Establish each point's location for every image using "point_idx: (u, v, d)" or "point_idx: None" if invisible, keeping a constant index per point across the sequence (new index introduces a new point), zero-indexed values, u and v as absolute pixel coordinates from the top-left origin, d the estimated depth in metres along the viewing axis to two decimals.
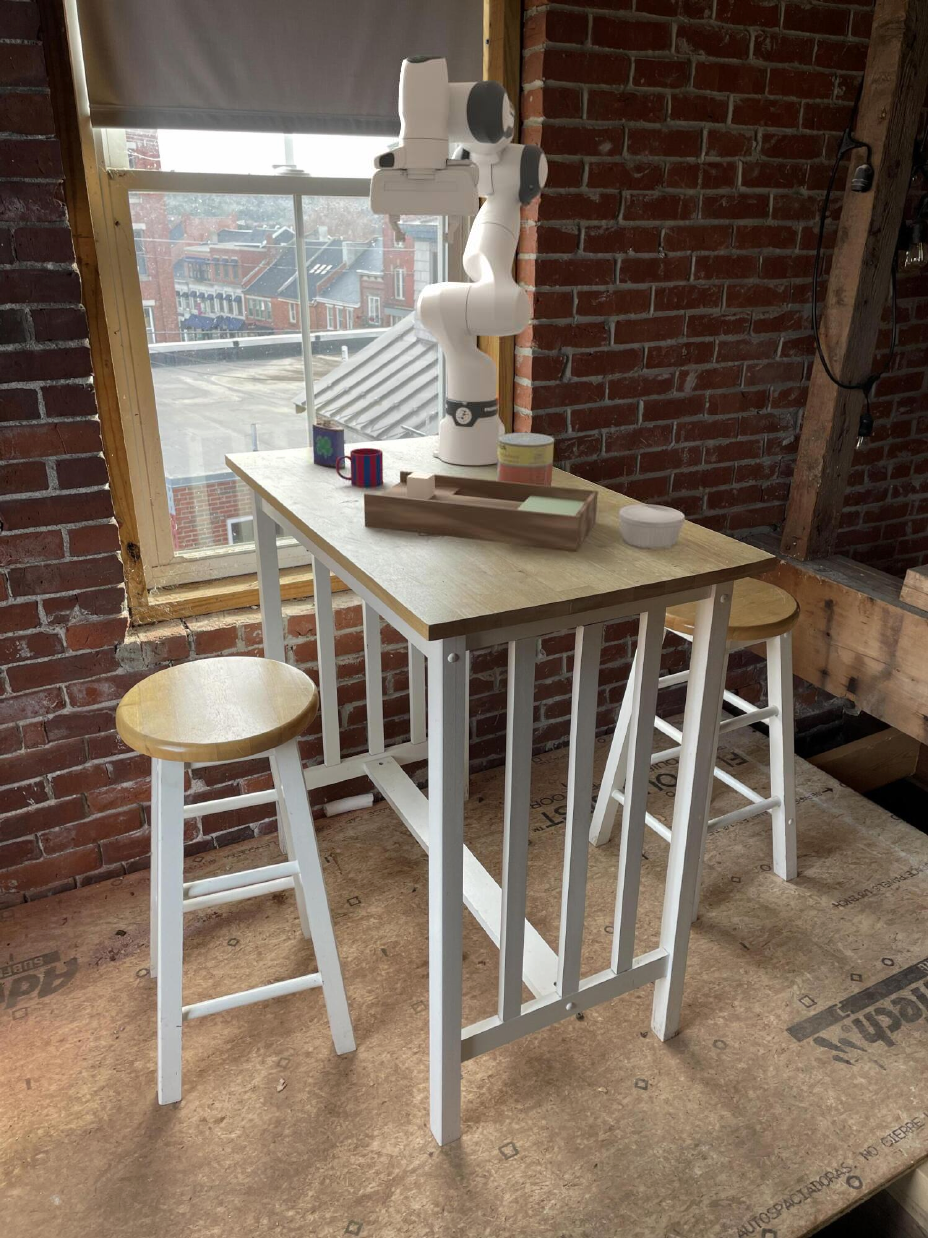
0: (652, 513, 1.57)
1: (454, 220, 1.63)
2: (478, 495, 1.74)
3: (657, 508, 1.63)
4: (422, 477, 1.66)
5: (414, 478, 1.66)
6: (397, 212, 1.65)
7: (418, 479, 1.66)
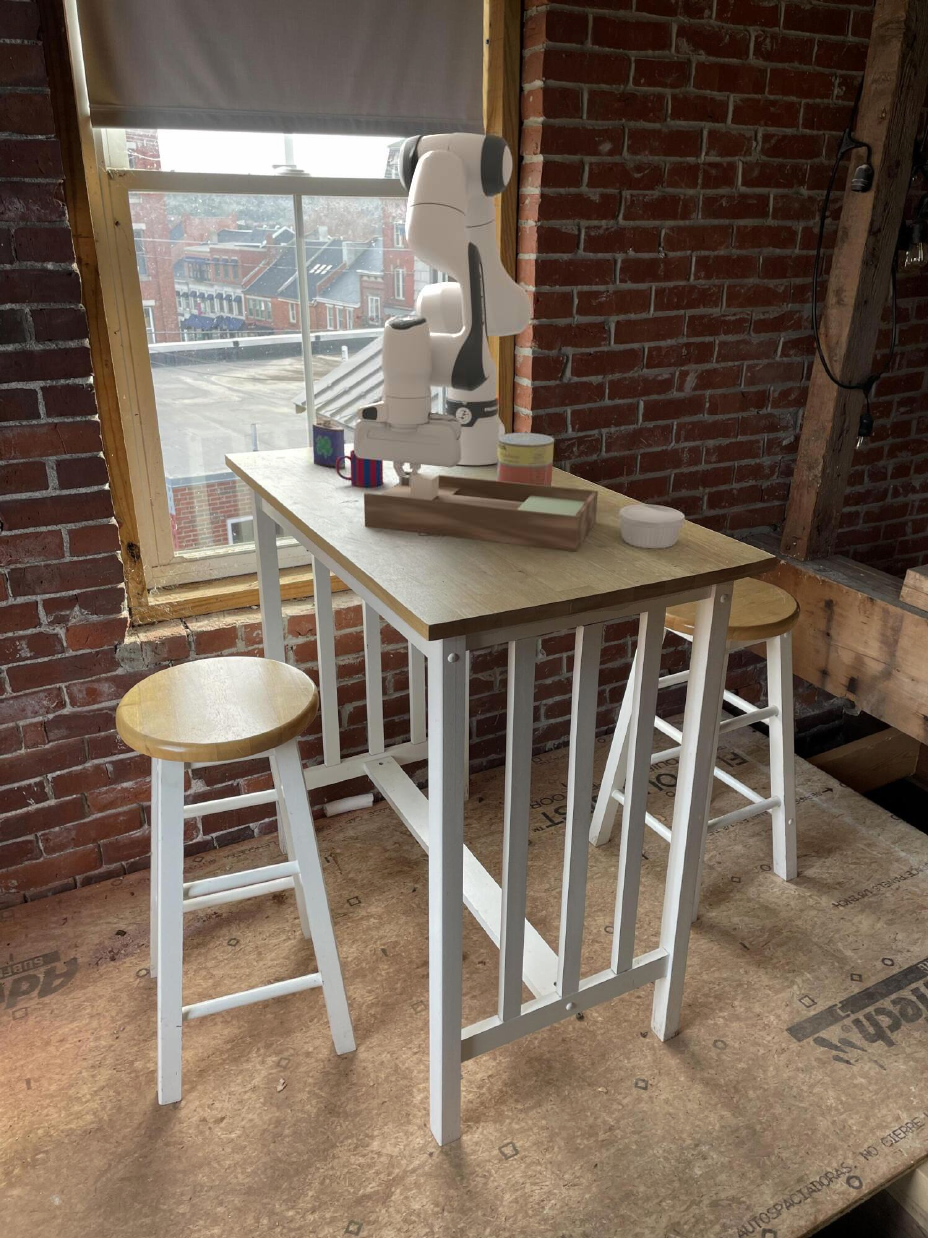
0: (652, 513, 1.57)
1: (415, 467, 1.66)
2: (478, 495, 1.74)
3: (657, 508, 1.63)
4: (426, 477, 1.66)
5: (418, 478, 1.65)
6: (380, 458, 1.67)
7: (422, 479, 1.65)
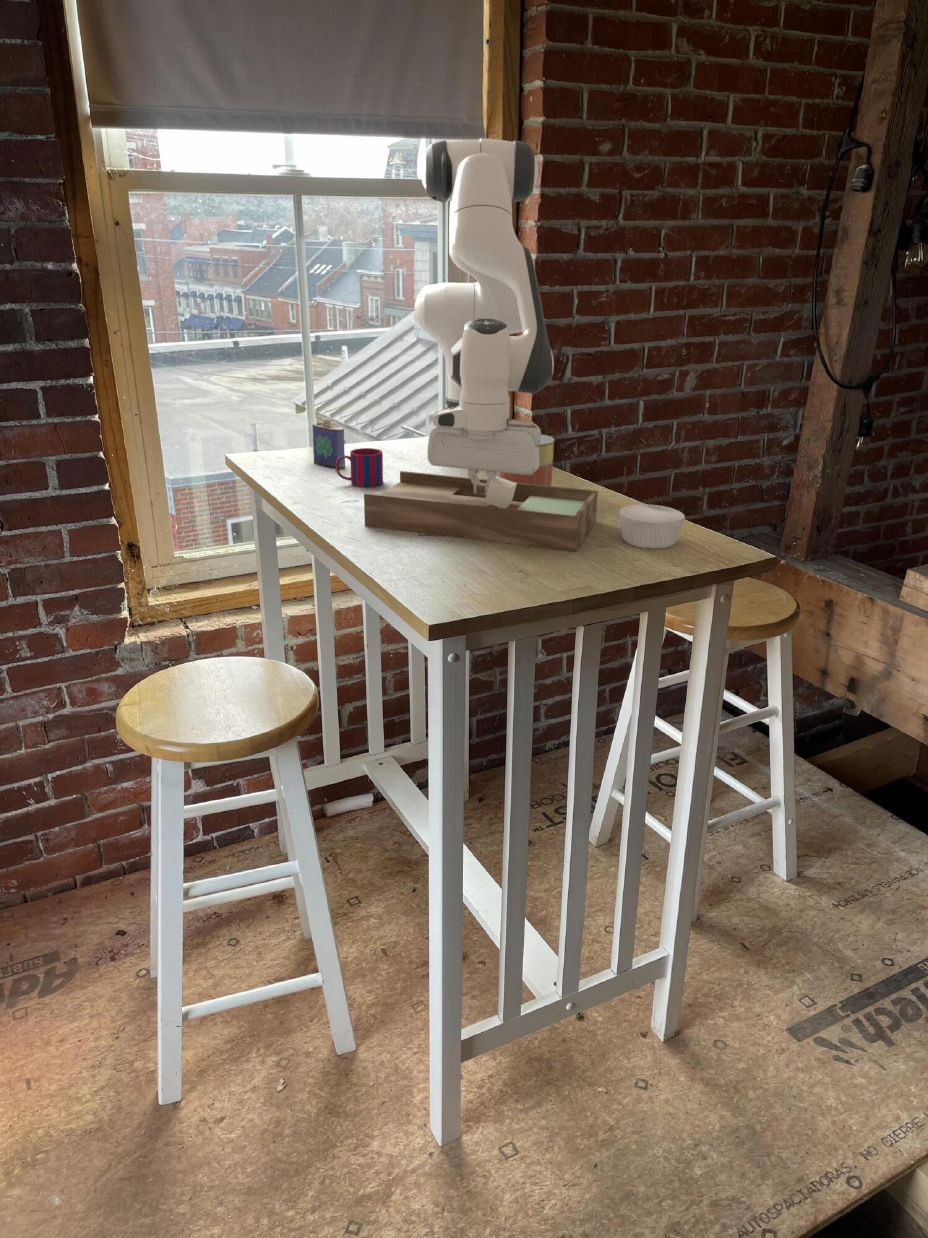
0: (652, 513, 1.57)
1: (492, 475, 1.62)
2: (478, 495, 1.74)
3: (657, 508, 1.63)
4: (505, 485, 1.61)
5: (497, 485, 1.61)
6: (455, 466, 1.63)
7: (501, 487, 1.61)
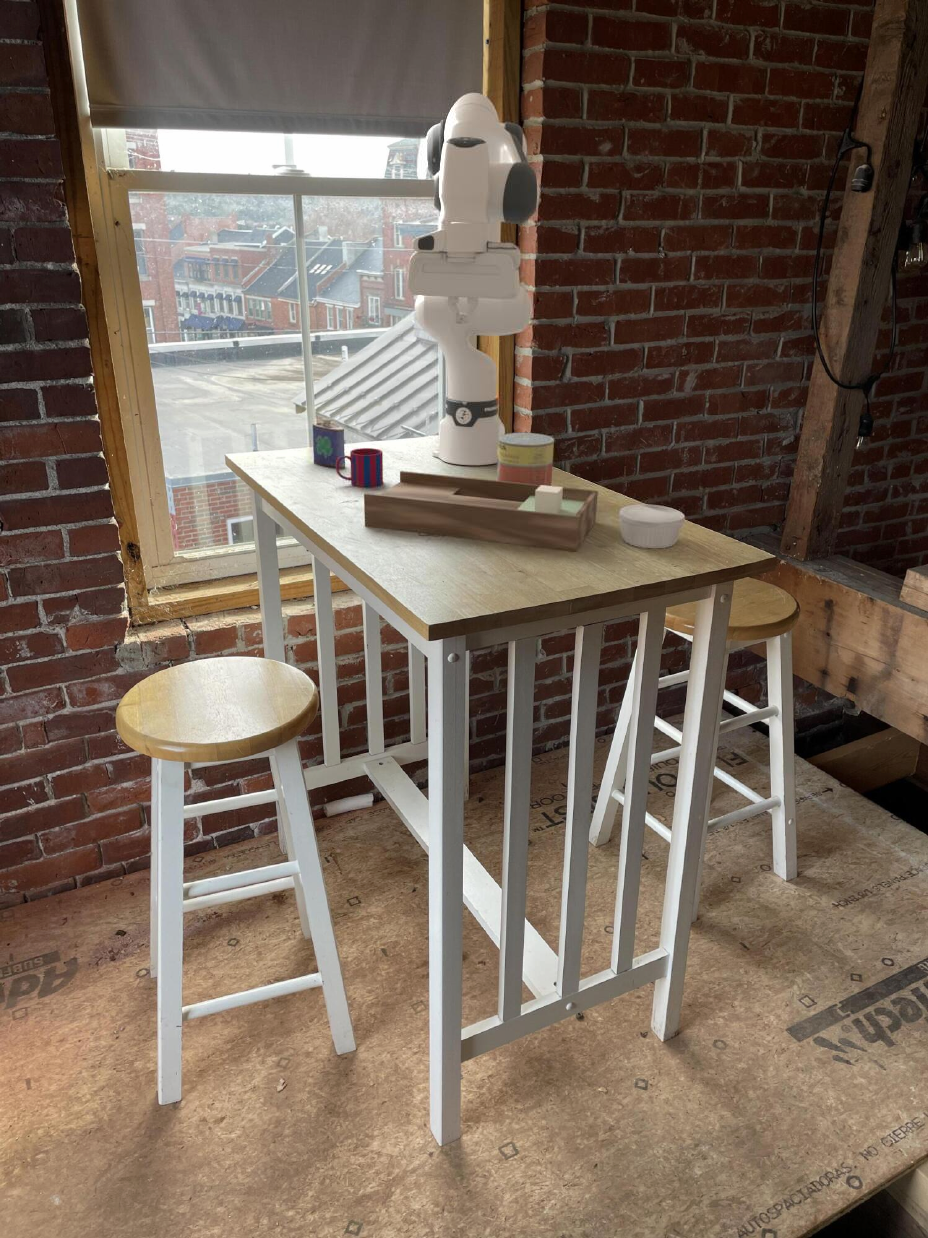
0: (652, 513, 1.57)
1: (473, 302, 1.61)
2: (478, 495, 1.74)
3: (657, 508, 1.63)
4: (551, 491, 1.59)
5: (543, 492, 1.59)
6: (436, 294, 1.62)
7: (548, 493, 1.59)
